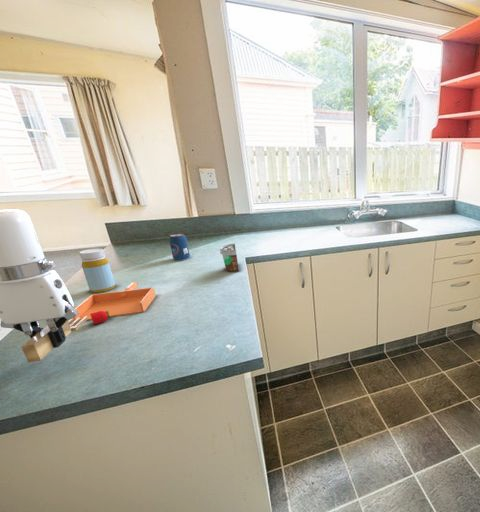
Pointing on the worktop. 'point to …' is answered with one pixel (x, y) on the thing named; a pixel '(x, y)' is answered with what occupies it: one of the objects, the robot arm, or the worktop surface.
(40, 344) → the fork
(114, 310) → the dustpan
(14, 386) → the worktop surface
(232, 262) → the food container
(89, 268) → the bottle
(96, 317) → the strawberry
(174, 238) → the soda can
